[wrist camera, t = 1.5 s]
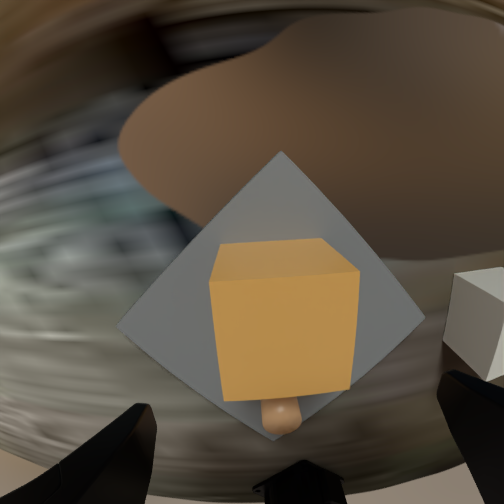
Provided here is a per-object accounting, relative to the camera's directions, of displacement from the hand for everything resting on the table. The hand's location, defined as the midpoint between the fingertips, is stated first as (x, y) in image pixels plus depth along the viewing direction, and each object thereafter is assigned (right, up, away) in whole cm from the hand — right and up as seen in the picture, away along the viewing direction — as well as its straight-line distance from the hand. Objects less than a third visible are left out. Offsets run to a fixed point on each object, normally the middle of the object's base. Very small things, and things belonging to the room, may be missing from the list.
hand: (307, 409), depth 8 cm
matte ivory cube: (+15, +1, +12) cm, 19 cm away
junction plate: (0, 0, +11) cm, 11 cm away
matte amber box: (0, +2, +9) cm, 10 cm away
